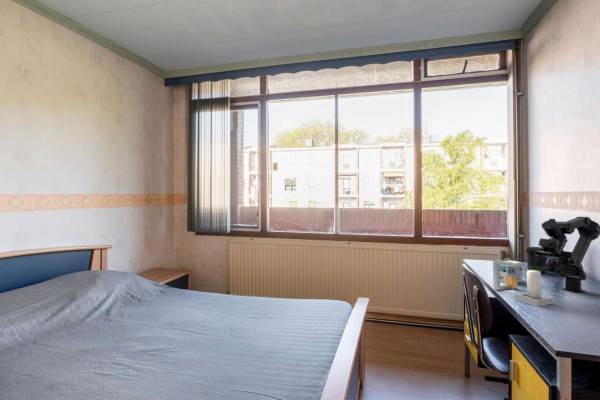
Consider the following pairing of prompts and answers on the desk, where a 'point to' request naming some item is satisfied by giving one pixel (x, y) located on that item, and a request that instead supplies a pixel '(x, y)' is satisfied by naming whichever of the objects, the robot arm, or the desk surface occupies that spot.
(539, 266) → the storage jar
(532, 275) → the white cylinder
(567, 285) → the robot arm
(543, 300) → the gray square tray
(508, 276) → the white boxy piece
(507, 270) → the light bulb box
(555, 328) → the desk surface
